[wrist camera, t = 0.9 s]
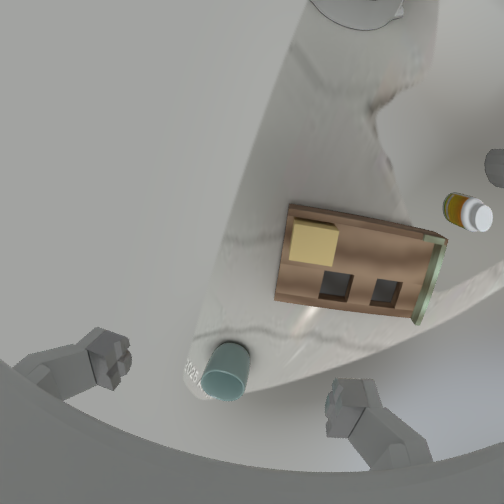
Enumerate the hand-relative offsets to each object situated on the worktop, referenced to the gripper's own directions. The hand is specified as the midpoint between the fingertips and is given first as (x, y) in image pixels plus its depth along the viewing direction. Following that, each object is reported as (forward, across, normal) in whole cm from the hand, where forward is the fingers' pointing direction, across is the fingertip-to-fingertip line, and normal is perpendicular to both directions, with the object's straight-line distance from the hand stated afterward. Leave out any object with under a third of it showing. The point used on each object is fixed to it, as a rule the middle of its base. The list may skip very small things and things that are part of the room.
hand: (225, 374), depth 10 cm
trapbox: (+36, -15, +5) cm, 39 cm away
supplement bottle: (+36, -31, -8) cm, 48 cm away
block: (+33, -6, +1) cm, 34 cm away
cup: (+37, +4, +27) cm, 46 cm away
